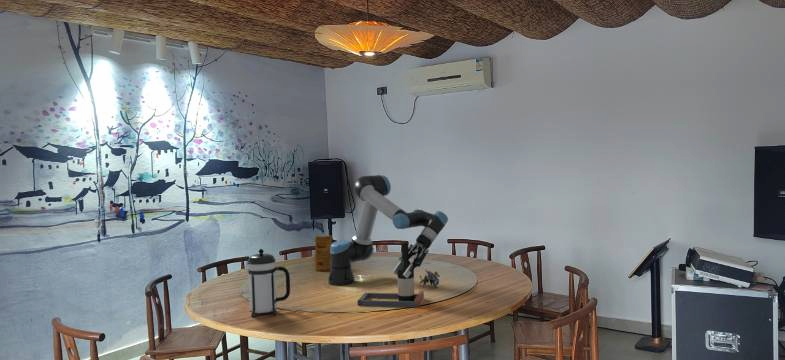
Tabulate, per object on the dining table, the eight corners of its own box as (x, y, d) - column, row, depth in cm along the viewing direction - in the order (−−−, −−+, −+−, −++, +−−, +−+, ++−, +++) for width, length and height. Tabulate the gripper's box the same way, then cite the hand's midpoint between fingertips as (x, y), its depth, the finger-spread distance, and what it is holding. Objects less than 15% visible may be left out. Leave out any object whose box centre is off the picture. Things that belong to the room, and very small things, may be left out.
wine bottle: (417, 300, 260) (415, 240, 259) (412, 305, 252) (410, 242, 251) (400, 299, 263) (399, 239, 262) (395, 304, 255) (393, 242, 254)
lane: (357, 305, 255) (357, 297, 254) (365, 297, 269) (365, 289, 269) (419, 307, 249) (419, 298, 249) (423, 298, 264) (423, 290, 263)
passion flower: (436, 297, 286) (440, 283, 278) (417, 294, 286) (420, 279, 279) (438, 282, 294) (441, 267, 287) (418, 278, 295) (421, 264, 288)
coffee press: (264, 319, 236) (262, 252, 234) (239, 315, 244) (237, 250, 243) (291, 310, 250) (289, 246, 249) (267, 305, 259) (265, 244, 258)
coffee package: (315, 268, 347) (314, 234, 346) (334, 267, 347) (333, 234, 346) (313, 271, 337) (312, 237, 336) (332, 270, 337) (331, 236, 336)
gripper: (443, 245, 256) (417, 283, 248) (418, 240, 274) (393, 275, 266) (434, 235, 253) (407, 273, 245) (409, 231, 271) (383, 266, 263)
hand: (399, 274), depth 255 cm, fingers open, 8 cm apart
